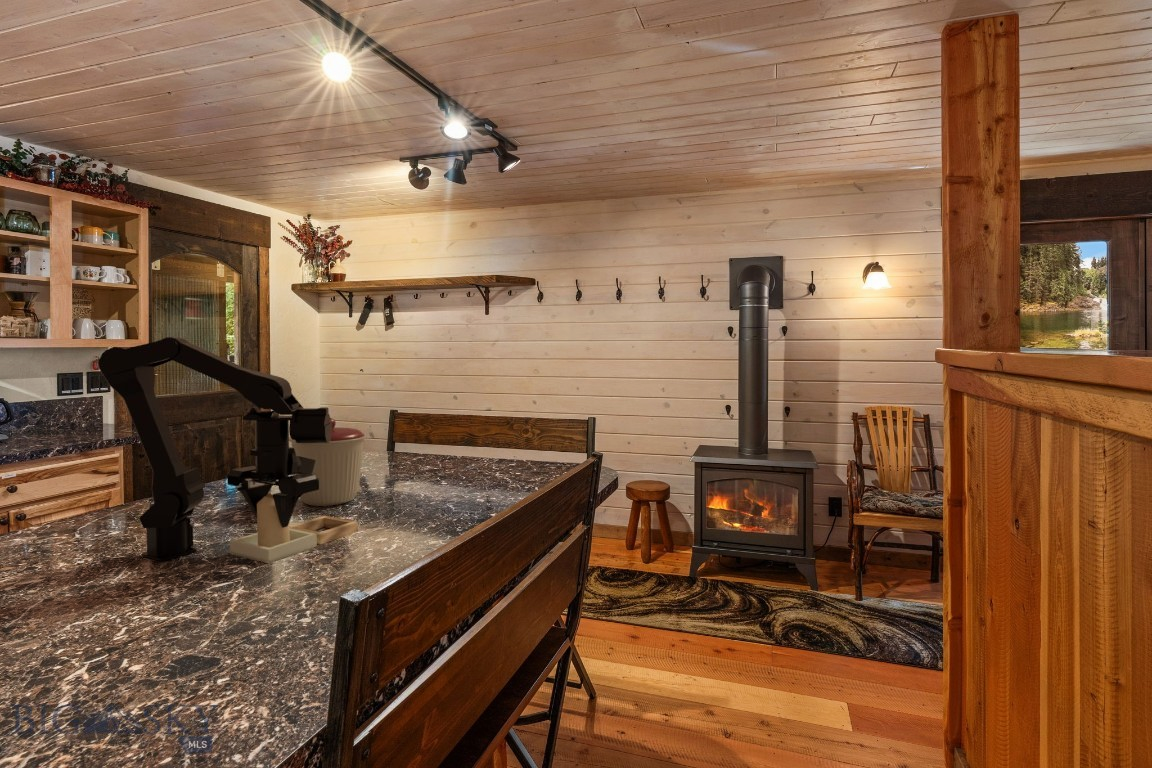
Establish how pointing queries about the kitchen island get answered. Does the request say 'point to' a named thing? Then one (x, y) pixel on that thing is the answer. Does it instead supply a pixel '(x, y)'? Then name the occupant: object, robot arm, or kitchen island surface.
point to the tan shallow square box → (338, 527)
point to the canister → (334, 466)
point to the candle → (270, 524)
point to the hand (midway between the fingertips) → (273, 524)
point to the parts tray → (252, 550)
